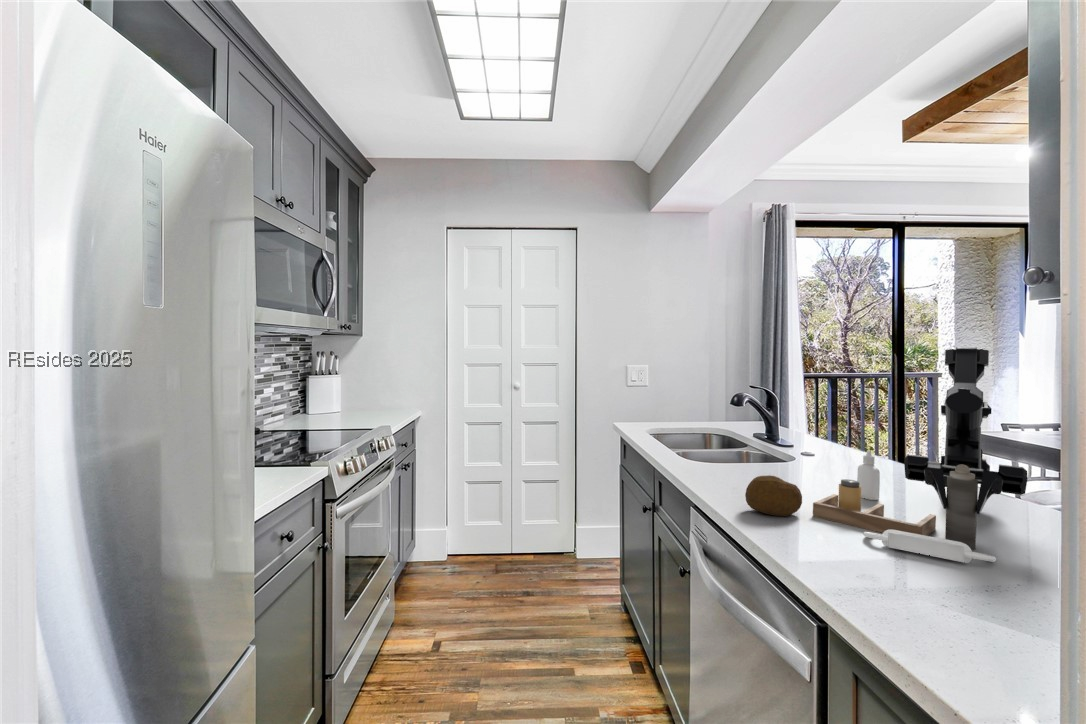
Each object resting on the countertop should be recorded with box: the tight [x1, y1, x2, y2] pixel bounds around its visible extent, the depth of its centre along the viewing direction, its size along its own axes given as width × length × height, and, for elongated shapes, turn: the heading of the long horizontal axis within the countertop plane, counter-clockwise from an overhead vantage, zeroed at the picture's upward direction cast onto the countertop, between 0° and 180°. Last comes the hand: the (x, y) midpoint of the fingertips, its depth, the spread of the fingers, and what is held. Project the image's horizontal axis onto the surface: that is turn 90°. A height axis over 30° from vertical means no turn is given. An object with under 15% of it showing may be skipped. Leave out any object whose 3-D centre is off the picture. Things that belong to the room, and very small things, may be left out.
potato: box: [744, 474, 803, 517], centre depth 118 cm, size 8×12×9 cm
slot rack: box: [812, 493, 937, 536], centre depth 113 cm, size 11×20×3 cm, turn 40°
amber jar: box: [838, 478, 862, 512], centre depth 117 cm, size 4×4×8 cm
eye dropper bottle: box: [856, 450, 881, 501], centre depth 132 cm, size 4×6×12 cm
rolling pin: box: [863, 530, 997, 564], centre depth 97 cm, size 20×8×4 cm, turn 52°
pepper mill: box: [944, 464, 979, 551], centre depth 100 cm, size 5×5×16 cm
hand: (961, 510), depth 99 cm, fingers closed on pepper mill, 5 cm apart
